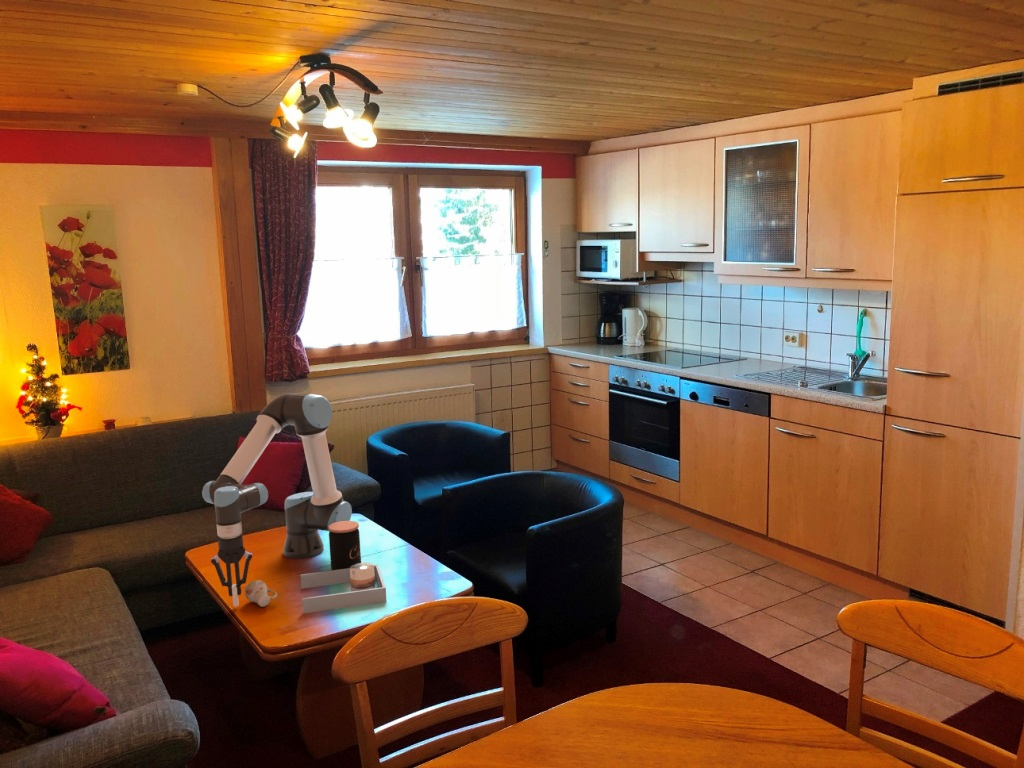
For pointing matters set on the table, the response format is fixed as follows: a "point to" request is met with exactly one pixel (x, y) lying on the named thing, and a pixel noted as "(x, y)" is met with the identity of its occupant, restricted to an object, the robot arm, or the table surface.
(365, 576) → the round glass jar
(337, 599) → the grey u-shaped low frame
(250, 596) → the mug
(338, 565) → the coffee jar
